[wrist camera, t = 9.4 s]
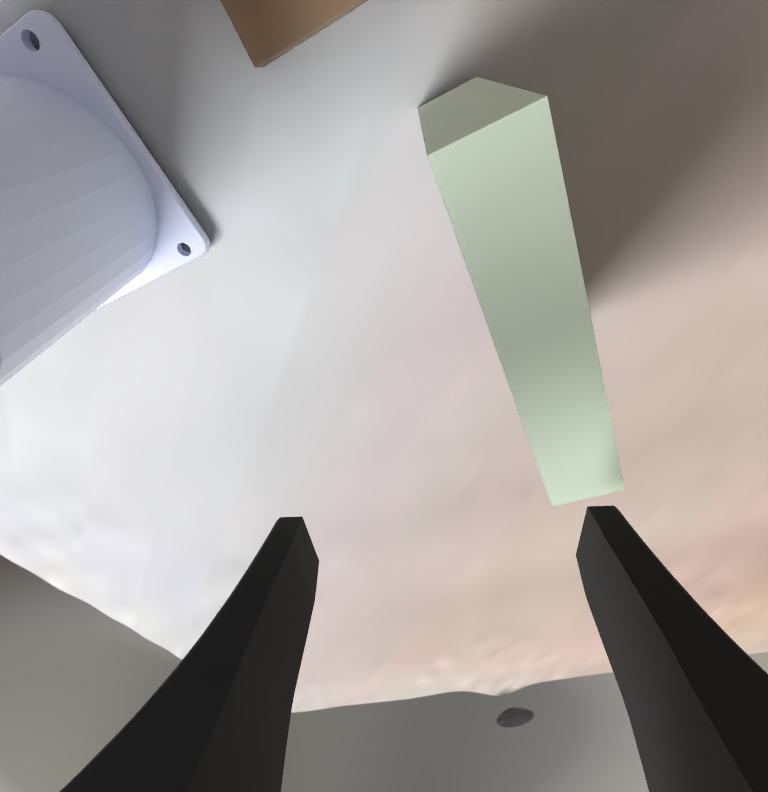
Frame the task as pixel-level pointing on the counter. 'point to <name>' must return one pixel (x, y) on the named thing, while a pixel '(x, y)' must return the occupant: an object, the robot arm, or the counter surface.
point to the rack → (281, 23)
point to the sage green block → (526, 274)
